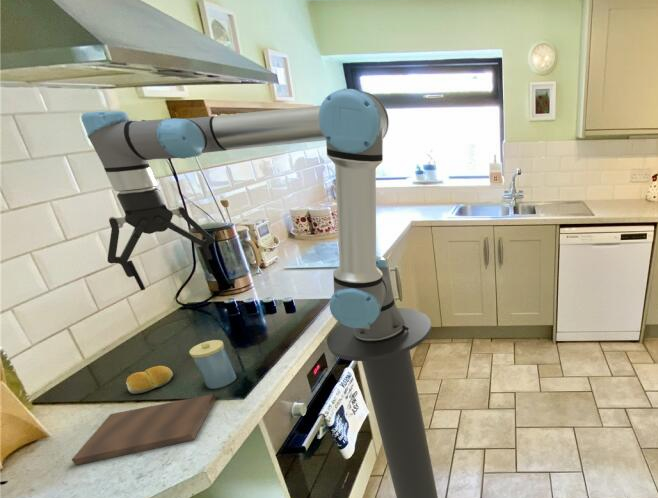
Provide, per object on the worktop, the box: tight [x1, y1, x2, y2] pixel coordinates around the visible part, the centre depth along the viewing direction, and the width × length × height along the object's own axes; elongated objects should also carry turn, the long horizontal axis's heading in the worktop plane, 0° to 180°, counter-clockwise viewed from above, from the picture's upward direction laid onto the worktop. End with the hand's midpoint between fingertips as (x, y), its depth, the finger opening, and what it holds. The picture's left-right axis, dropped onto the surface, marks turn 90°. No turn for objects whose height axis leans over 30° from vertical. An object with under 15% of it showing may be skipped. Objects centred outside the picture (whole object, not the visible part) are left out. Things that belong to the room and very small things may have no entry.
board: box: [71, 393, 217, 466], centre depth 88 cm, size 20×14×2 cm
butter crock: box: [188, 339, 237, 390], centre depth 101 cm, size 7×7×11 cm
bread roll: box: [125, 365, 174, 395], centre depth 103 cm, size 8×9×4 cm
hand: (178, 280), depth 101 cm, fingers open, 13 cm apart
